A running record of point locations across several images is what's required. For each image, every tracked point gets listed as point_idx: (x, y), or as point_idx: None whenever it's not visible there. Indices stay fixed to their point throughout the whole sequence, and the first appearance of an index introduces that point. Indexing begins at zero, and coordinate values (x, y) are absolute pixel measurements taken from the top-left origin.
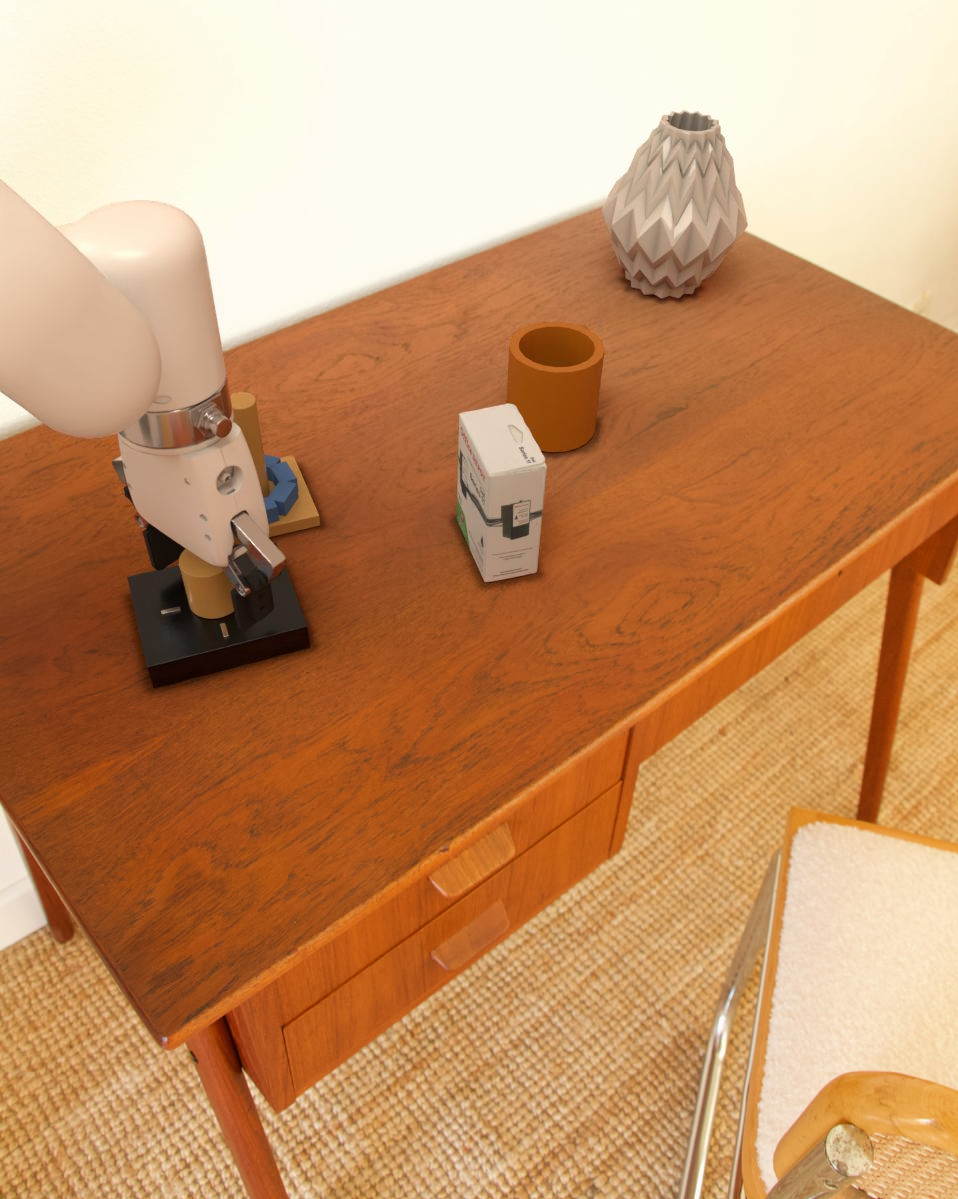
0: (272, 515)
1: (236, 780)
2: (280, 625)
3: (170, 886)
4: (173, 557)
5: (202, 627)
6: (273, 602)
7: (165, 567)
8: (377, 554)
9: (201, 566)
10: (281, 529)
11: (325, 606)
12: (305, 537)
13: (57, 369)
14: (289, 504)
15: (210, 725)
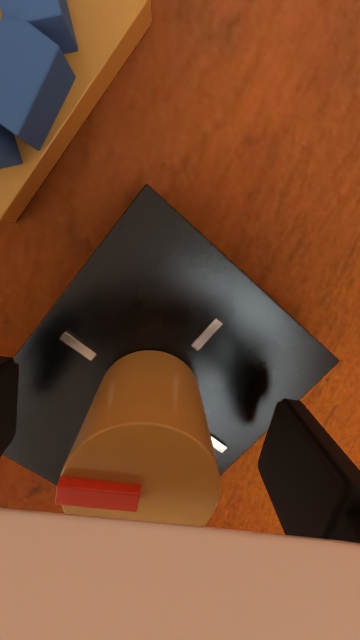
0: (60, 81)
1: None
2: (293, 383)
3: None
4: (10, 406)
5: None
6: (306, 408)
7: (16, 422)
8: (319, 50)
9: (152, 518)
10: (92, 98)
11: (288, 249)
12: (146, 85)
13: None
14: (64, 2)
15: (254, 498)
